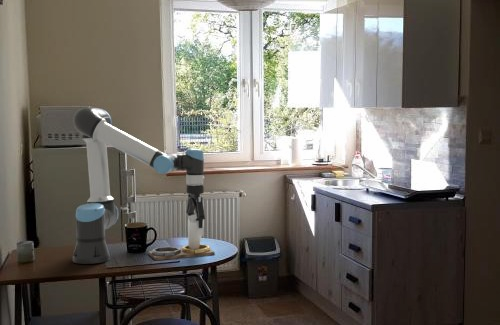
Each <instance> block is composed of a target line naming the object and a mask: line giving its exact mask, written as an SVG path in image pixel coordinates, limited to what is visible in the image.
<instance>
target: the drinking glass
mask: <svg viewBox="0 0 500 325" xmlns="http://www.w3.org/2000/svg"><path fill="white" fill-rule="evenodd" d="M196 219H197V216H196V213H195V215H191V216H190V217H189V220H188V219H187V245H188V247H189V248H191V249H198V248H199V247H200V244H201V241H202V236H203V235H201V236H197V221H196ZM204 224H205V219H204V220H203V227H205V226H204Z"/></svg>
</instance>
